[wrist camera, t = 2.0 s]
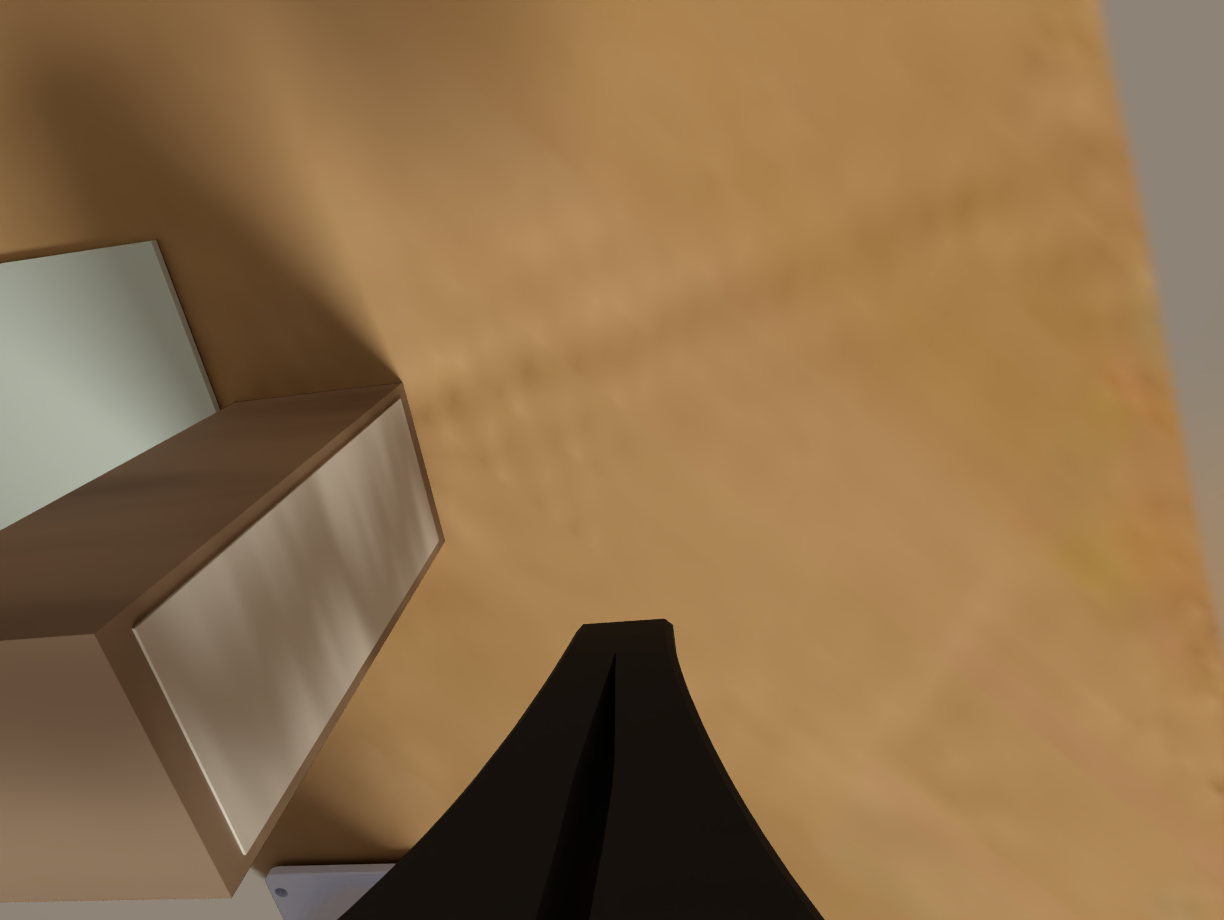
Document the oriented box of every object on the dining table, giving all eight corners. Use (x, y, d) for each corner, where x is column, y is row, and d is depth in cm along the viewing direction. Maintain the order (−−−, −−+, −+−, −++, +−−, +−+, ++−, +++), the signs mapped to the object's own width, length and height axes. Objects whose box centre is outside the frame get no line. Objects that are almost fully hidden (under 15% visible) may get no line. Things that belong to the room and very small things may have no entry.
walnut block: (446, 540, 21) (234, 897, 11) (290, 554, 21) (-49, 903, 11) (404, 382, 19) (97, 633, 9) (234, 402, 19) (-234, 658, 9)
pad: (318, 672, 23) (316, 675, 23) (30, 690, 24) (25, 693, 24) (156, 239, 18) (150, 240, 18) (-202, 294, 19) (-210, 295, 19)
